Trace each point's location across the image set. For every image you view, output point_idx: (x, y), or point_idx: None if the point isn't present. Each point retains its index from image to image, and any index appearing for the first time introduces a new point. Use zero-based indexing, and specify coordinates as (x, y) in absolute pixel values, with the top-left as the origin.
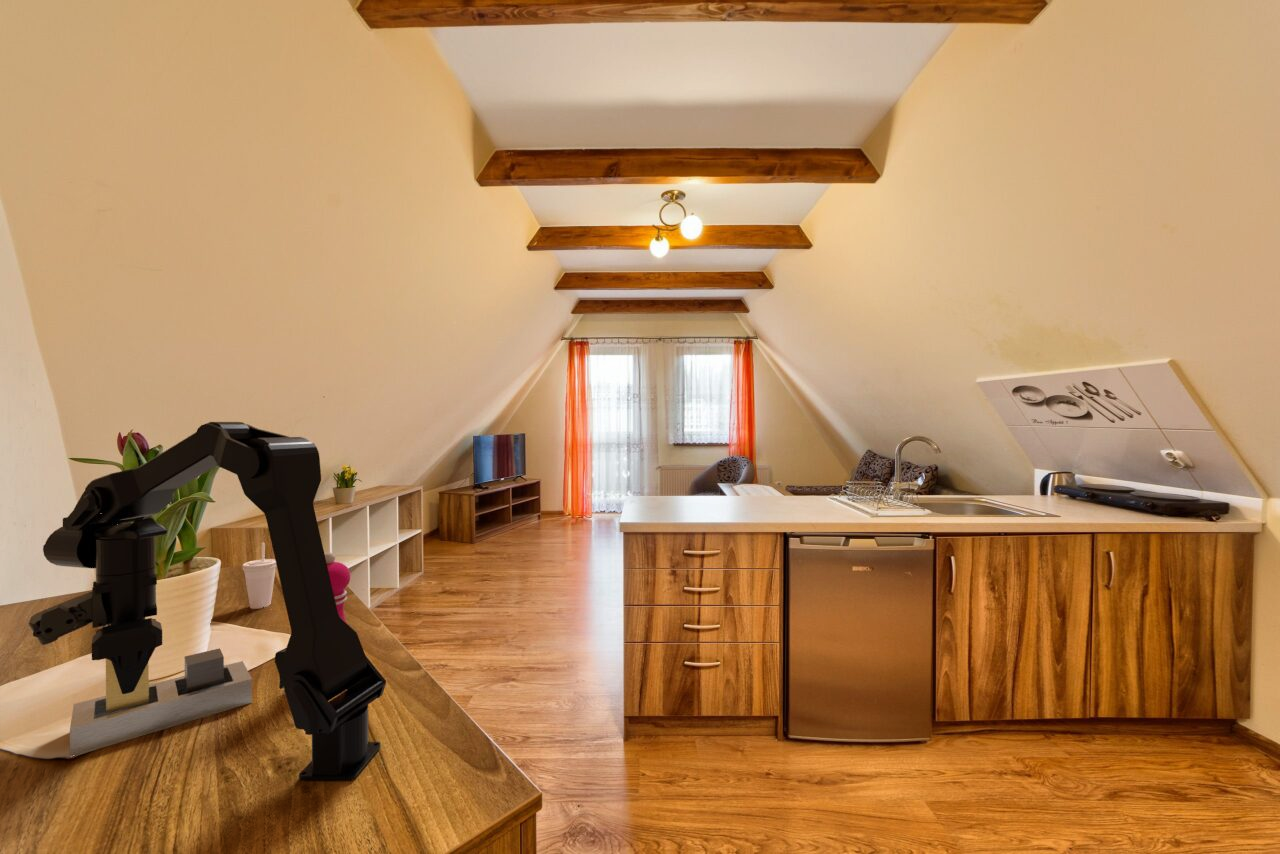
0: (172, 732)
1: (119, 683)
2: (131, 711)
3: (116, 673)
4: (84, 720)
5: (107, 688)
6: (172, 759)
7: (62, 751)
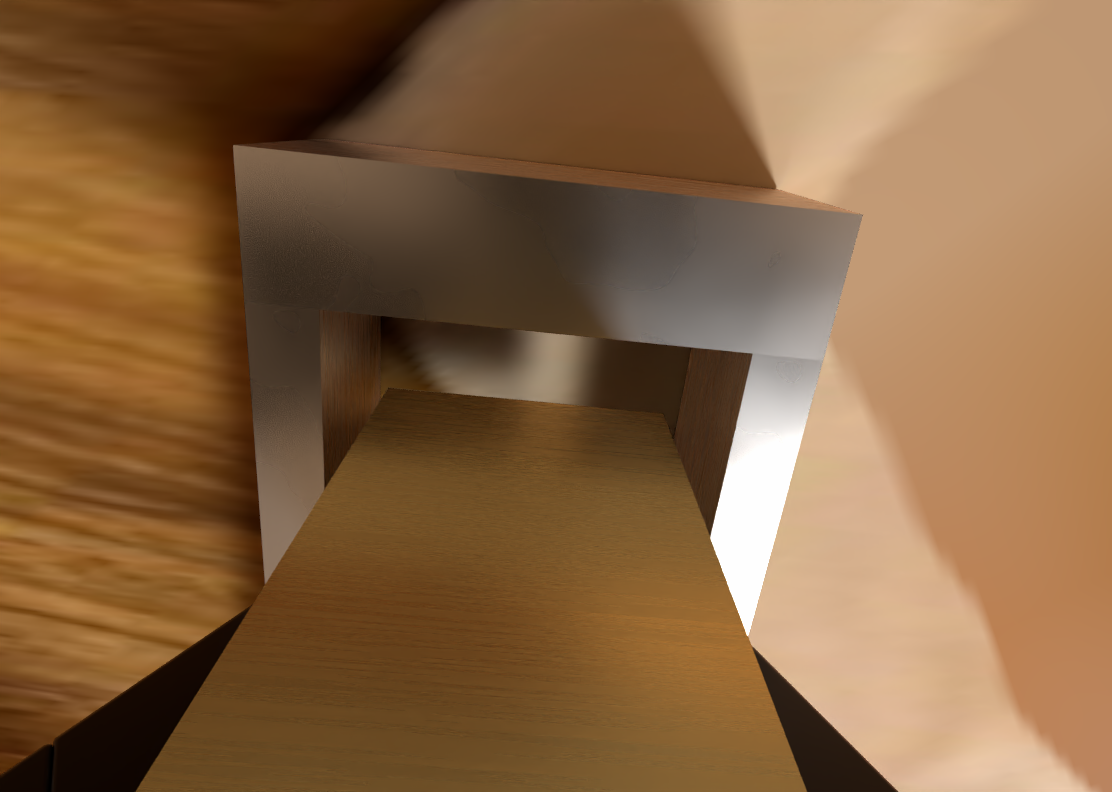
0: (260, 568)
1: (209, 635)
2: (265, 516)
3: (52, 747)
4: (351, 252)
5: (322, 515)
6: None
7: (472, 108)
